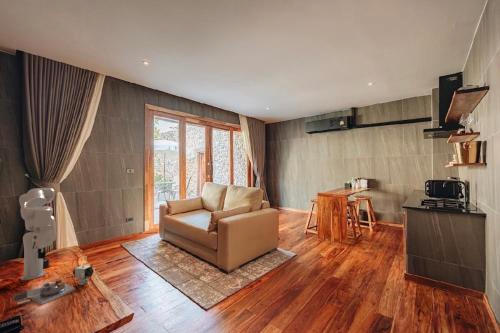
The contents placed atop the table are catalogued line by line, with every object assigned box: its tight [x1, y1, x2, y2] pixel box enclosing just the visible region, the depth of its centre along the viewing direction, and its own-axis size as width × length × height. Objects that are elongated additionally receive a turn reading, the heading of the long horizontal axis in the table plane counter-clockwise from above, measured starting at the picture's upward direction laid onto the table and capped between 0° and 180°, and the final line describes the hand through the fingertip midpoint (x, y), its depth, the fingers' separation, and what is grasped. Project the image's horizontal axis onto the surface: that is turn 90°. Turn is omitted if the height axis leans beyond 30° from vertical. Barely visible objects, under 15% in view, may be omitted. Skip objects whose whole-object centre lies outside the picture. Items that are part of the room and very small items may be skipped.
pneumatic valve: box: [72, 264, 95, 286], centre depth 142 cm, size 6×12×12 cm, turn 78°
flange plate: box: [16, 283, 76, 306], centre depth 127 cm, size 16×22×2 cm
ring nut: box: [13, 279, 66, 302], centre depth 126 cm, size 22×11×4 cm, turn 137°
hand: (41, 258), depth 133 cm, fingers closed
